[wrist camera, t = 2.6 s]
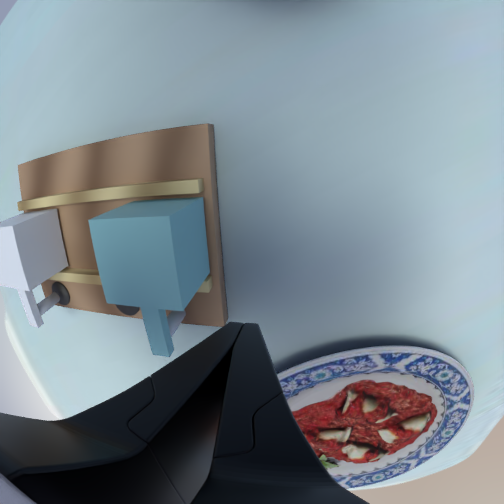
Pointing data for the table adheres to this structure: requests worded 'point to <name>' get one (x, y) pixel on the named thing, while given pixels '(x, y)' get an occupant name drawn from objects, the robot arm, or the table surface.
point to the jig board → (118, 194)
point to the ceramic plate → (378, 409)
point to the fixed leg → (31, 258)
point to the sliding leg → (153, 260)
